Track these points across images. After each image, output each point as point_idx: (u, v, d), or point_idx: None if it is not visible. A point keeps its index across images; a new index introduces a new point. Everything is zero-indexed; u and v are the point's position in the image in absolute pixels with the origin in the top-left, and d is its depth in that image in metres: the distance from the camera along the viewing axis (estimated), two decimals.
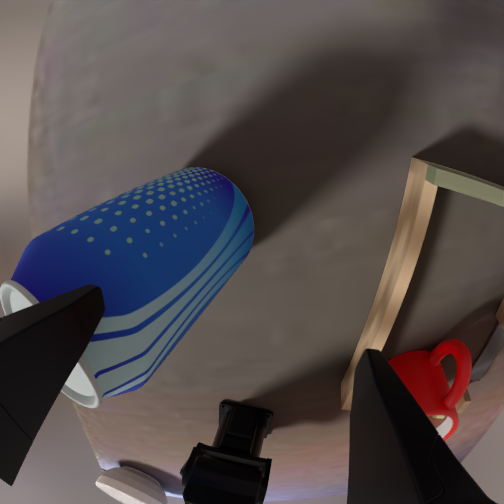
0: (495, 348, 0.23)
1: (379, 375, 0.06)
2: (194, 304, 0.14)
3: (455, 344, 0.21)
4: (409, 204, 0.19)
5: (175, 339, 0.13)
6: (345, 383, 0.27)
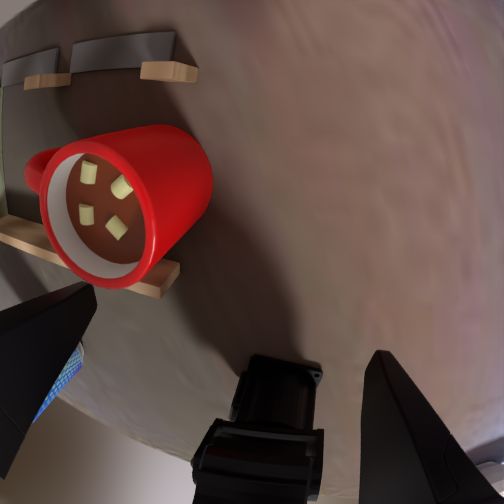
0: (109, 47, 0.16)
1: (391, 376, 0.06)
2: None
3: None
4: None
5: None
6: None
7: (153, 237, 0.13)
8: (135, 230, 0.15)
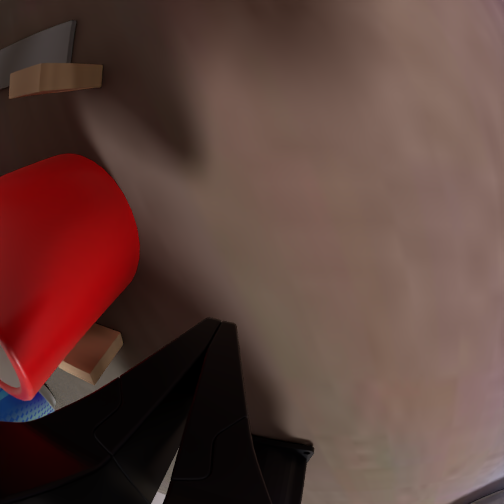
0: (9, 58, 0.09)
1: (214, 345, 0.07)
2: None
3: None
4: None
5: None
6: None
7: (16, 363, 0.06)
8: None
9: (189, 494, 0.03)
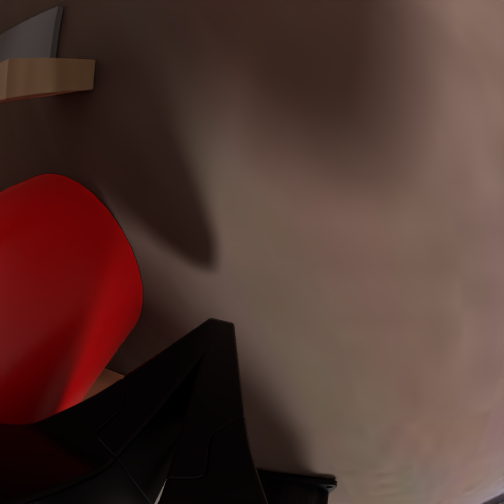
0: None
1: (211, 345, 0.07)
2: None
3: None
4: None
5: None
6: None
7: None
8: None
9: (185, 493, 0.03)
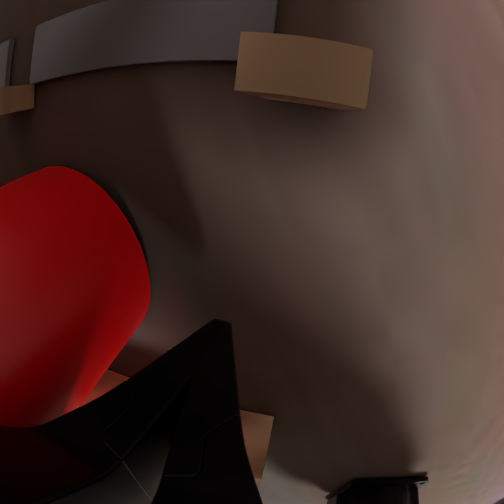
0: (109, 20, 0.06)
1: (208, 344, 0.07)
2: None
3: None
4: None
5: None
6: None
7: None
8: None
9: (179, 491, 0.03)
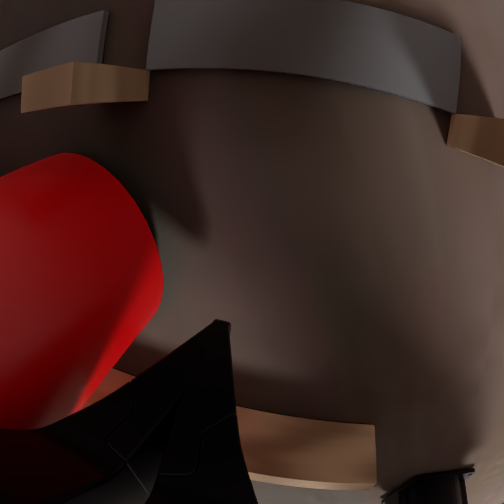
0: (284, 17, 0.06)
1: (205, 343, 0.07)
2: None
3: None
4: None
5: None
6: None
7: None
8: None
9: (174, 489, 0.03)
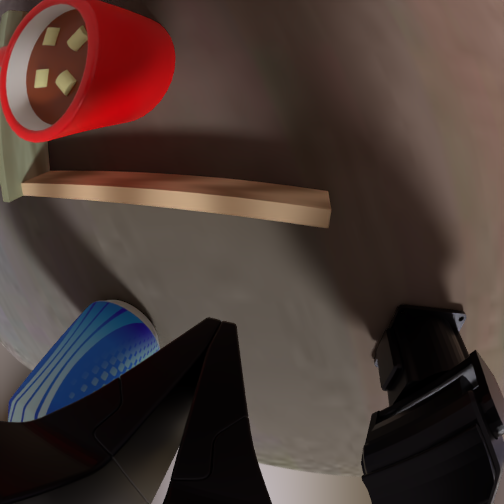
0: None
1: (214, 345, 0.07)
2: (57, 370, 0.17)
3: None
4: None
5: (54, 392, 0.15)
6: None
7: (93, 59, 0.09)
8: None
9: (189, 494, 0.03)
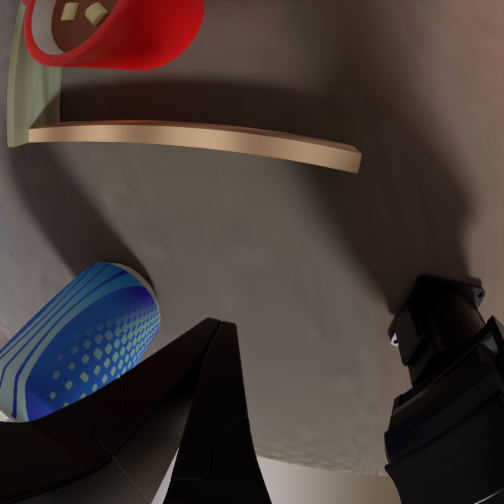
0: None
1: (214, 345, 0.07)
2: (46, 328, 0.15)
3: None
4: None
5: (40, 352, 0.13)
6: None
7: None
8: None
9: (189, 494, 0.03)
